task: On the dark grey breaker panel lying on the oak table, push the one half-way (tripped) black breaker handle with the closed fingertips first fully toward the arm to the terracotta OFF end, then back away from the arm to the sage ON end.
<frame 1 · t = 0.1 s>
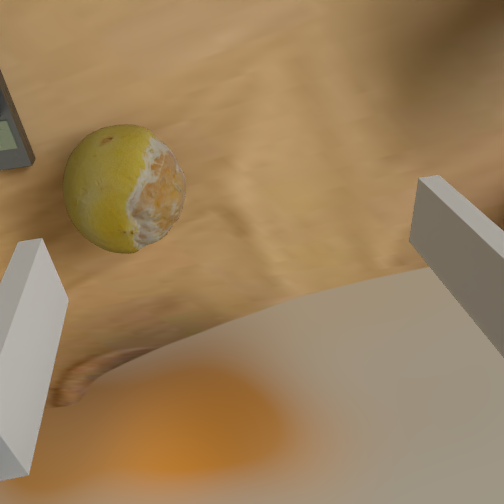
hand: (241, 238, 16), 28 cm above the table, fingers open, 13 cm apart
fruit: (129, 164, 43), on the table
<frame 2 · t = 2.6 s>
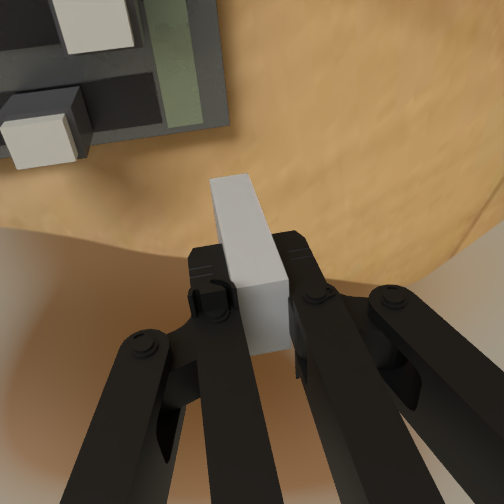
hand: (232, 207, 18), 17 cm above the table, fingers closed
breaker mid row: (99, 15, 24), point 4 cm above the table, slide at 4.5 cm
panel: (46, 10, 27), on the table
breaker tripped: (47, 128, 27), point 4 cm above the table, slide at 0.0 cm
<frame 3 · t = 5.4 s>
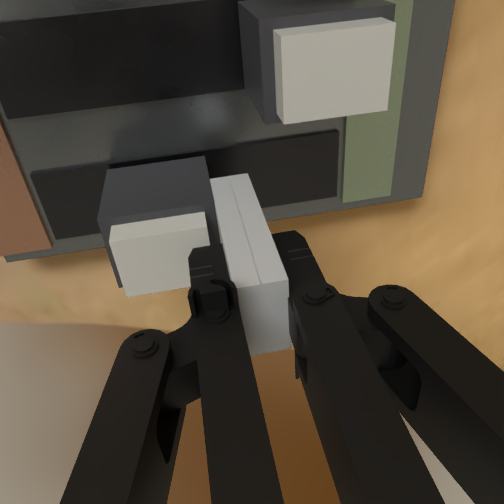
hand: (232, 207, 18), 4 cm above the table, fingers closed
breaker mid row: (313, 56, 15), point 5 cm above the table, slide at 4.5 cm
panel: (196, 41, 18), on the table
breaker tripped: (164, 225, 18), point 4 cm above the table, slide at -1.4 cm, touching gripper
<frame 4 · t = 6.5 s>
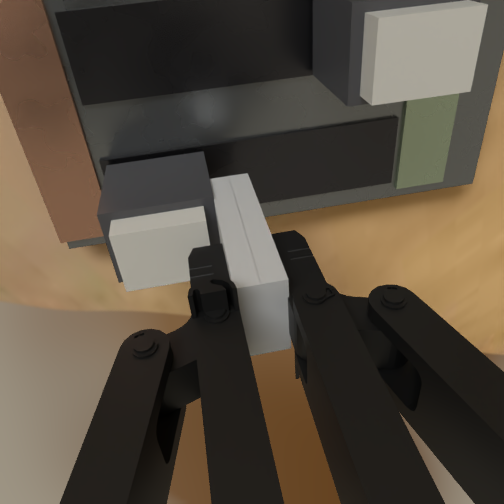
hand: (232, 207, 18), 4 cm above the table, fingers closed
breaker mid row: (391, 40, 15), point 5 cm above the table, slide at 4.5 cm
panel: (263, 28, 18), on the table
breaker tripped: (163, 220, 18), point 5 cm above the table, slide at -4.2 cm, touching gripper
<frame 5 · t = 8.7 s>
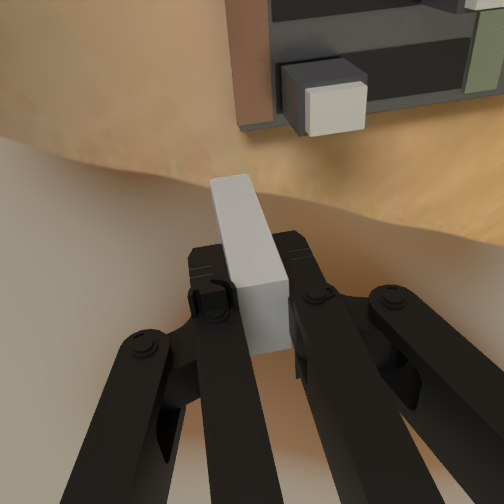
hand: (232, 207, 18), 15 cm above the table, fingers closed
breaker tripped: (324, 98, 27), point 5 cm above the table, slide at -4.2 cm
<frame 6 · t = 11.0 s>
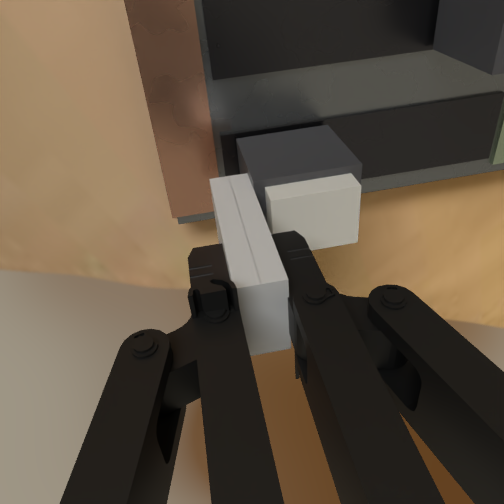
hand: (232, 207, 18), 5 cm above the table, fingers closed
panel: (380, 5, 19), on the table
breaker tripped: (298, 190, 18), point 5 cm above the table, slide at -3.9 cm, touching gripper
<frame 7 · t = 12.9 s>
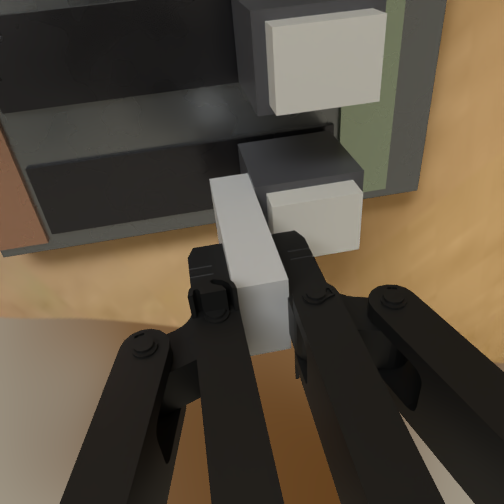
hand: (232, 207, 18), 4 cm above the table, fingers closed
breaker mid row: (305, 48, 15), point 5 cm above the table, slide at 4.5 cm
panel: (190, 34, 18), on the table
breaker tripped: (299, 195, 18), point 5 cm above the table, slide at 4.2 cm, touching gripper
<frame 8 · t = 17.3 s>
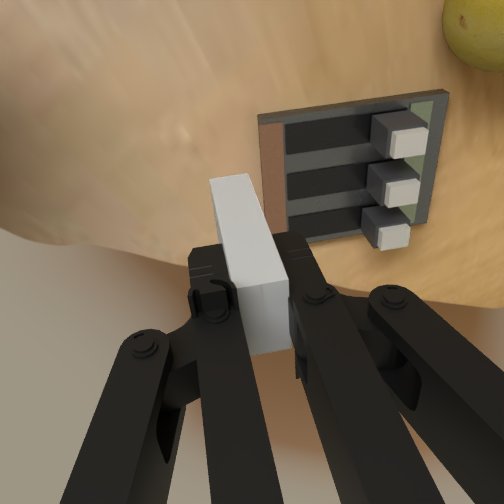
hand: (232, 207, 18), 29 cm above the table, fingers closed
fruit: (474, 1, 44), on the table
breaker mid row: (393, 184, 49), point 5 cm above the table, slide at 4.5 cm
panel: (348, 171, 52), on the table
breaker far row: (399, 135, 45), point 5 cm above the table, slide at 4.5 cm
breaker tripped: (386, 227, 52), point 5 cm above the table, slide at 4.2 cm
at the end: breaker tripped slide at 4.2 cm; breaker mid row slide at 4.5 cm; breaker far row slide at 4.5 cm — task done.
